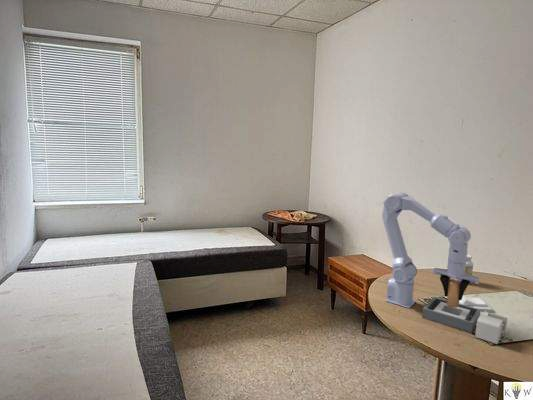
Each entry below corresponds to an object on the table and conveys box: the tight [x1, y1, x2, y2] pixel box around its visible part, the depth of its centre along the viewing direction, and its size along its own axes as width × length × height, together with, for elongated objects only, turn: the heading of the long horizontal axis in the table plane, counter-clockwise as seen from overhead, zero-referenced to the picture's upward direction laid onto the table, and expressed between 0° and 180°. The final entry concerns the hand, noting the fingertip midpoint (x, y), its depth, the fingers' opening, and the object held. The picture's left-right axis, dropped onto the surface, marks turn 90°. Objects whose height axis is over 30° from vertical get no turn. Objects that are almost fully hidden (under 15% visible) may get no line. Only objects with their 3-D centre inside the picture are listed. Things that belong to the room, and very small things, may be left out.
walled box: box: [422, 296, 482, 334], centre depth 127 cm, size 16×14×4 cm
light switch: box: [459, 294, 495, 313], centre depth 138 cm, size 11×4×13 cm
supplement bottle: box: [454, 254, 474, 285], centre depth 162 cm, size 7×7×13 cm
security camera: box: [474, 312, 509, 345], centre depth 114 cm, size 6×7×10 cm
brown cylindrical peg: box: [446, 278, 460, 307], centre depth 125 cm, size 4×4×9 cm
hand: (453, 297), depth 126 cm, fingers closed on brown cylindrical peg, 4 cm apart
